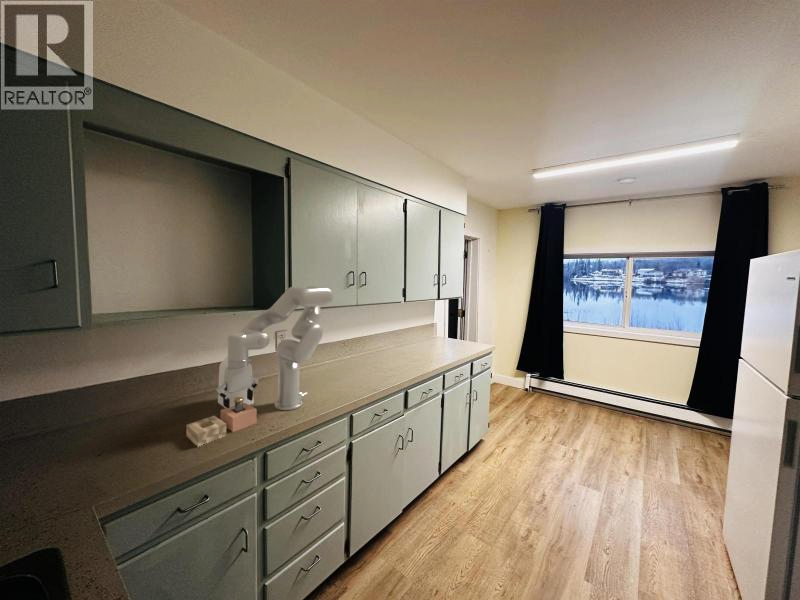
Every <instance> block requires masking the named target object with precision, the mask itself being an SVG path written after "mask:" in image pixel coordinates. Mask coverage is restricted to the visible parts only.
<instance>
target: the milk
mask: <svg viewBox="0 0 800 600" xmlns="http://www.w3.org/2000/svg"><path fill="white" fill-rule="evenodd" d="M249 365H250V368H251V373H252V374H253V366H252V364H251V363H250V362H249ZM226 367H228V355H227V356H226V357H225V358H224V359H223V360H222V361H221V362H220V364H219V369H218V370H219V371H218V387H217V388H219V387H220V386H221V385H223V383H224V374H225V369H226ZM253 383H254V381H253V380H252V384H253ZM247 390H248V388H247V389H244V390H241V391H237V392H234V393H231V394H230V396H229V397H228V398H229V399H230V407H232V406H235V402H234V398H236V397H243V403H246V404H248V405H253V404H254V403H255V399H254V394H253V400H252V401H250V400H248V399H247ZM224 392H225V390H224V389H223V390H222V393H224ZM217 403H218V404H219V405H220V406H221V407H223V408H224V409H225V408H226V407H225V406H224V405H223V397H221V396H220V395H219V394H218V393H217Z"/></svg>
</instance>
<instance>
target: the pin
mask: <svg viewBox="0 0 800 600" xmlns="http://www.w3.org/2000/svg"><path fill="white" fill-rule="evenodd" d="M234 402H235V413H238V412H241V411H243V397H236V398H234Z"/></svg>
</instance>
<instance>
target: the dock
mask: <svg viewBox="0 0 800 600" xmlns="http://www.w3.org/2000/svg"><path fill="white" fill-rule="evenodd" d="M257 410H258V409H257V408H255V407H253V406H251V404H249V405H248V404H246V403H243V411H241V412H238V413H235V406H232V407H229V408H225V407H224V408H222V409H220V420H221V421H223V422H224V423H226V429H228V430H229V431H230V430H231V431H230V432H232V433H235V432H237V431H240V430H242V429H245V428H247V427H250V426H252V425H255V424H257V423H258V421H257V420H258V419H257V418H258V417H257V415H258V413H257V412H258V411H257Z"/></svg>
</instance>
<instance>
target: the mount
mask: <svg viewBox="0 0 800 600" xmlns="http://www.w3.org/2000/svg"><path fill="white" fill-rule="evenodd" d="M185 427H186V429H185V430H186V438H187V437H188V438H189V439H190V440H191V441H190V440H189V439H188V438H187V439H188V440H189V441H190V442H191V443H193V444H194V445H195V446H196V445H197V448H200V447H202V446H204V445H203V444H205V445H207V444H210V443H212V442H215V441H216V440H217V439H218V440H220V439H222V437H223V438H225V437H227V428H226V423H224V422H223V421H221V418H218V417H217V416H216V415H212V416H209V417H206V418H202V419H200V420H197V421H194V422H191V423H188V424H186V425H185ZM219 438H220V439H219ZM214 440H215V441H214ZM211 441H212V442H211ZM209 442H210V443H209ZM206 443H207V444H206ZM201 445H202V446H201ZM199 446H200V447H199Z"/></svg>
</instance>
